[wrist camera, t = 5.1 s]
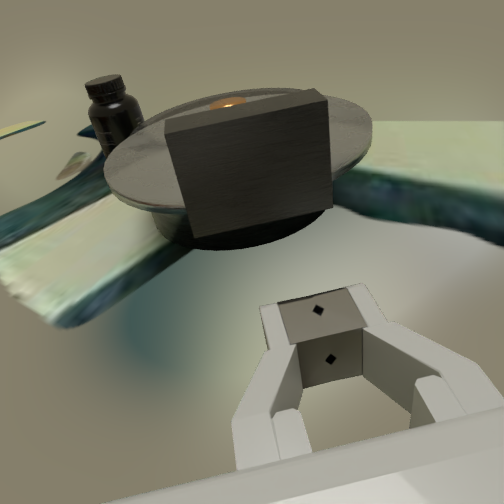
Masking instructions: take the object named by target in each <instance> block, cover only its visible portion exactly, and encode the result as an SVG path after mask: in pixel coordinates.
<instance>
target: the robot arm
mask: <svg viewBox="0 0 504 504" xmlns="http://www.w3.org/2000/svg"><path fill="white" fill-rule="evenodd" d="M259 309H260V314H261V319H262V324H263V329H264V334H265V339H266V344H267V348H268V350H267V351H264V353H263V356H262V358H261V360H260V362H259V364H258V366H257V368H256V370H255V372H254V375H253V377H252V379H251V381H250V383H249V385H248V387H247V389H246V391H245V393H244V395H243V397H242V400H241V402H240V404H239V406H238V408H237V410H236V412H235V414H234V416H233V419H232V421H231V424H232V433H233V441H234V449H235V459H236V467H237V471H233V472H229V473H225V474H221V475H216V476H213V477H208V478H204V479H200V480H196V481H192V482H187V483H184V484H180V485H175V486H171V487H167V488H163V489H159V490H155V491H151V492H146V493H142V494H138V495H134V496H130V497H126V498H122V499H118V500H114V501H109V502H105V503H101V504H504V398H503V396H502V395H501V394H500V392H499V391H498V390H497V389H496V387H495V386H494V385H493V383H492V382H491V381H490V380H489V378H488V377H487V376H486V374H485V373H484V372H483V371H482V369H481V368H480V367H479V366H478V364H477V363H475V362H473V361H471V360H469V359H467V358H465V357H463V356H461V355H459V354H457V353H455V352H453V351H451V350H449V349H447V348H445V347H443V346H441V345H439V344H438V343H436V342H433V341H431V340H430V339H428V338H426V337H424V336H422V335H420V334H418V333H416V332H414V331H412V330H410V329H408V328H406V327H404V326H402V325H400V324H398V323H396V322H394V321H392V322H388V321H387V319H386V318H385V316H384V314H383V313H382V311H381V310H380V308H379V306H378V305H377V303H376V302H375V300H374V299H373V297H372V295H371V294H370V292H369V290H368V289H367V287H366V285H365V284H363V283H359V284H355V285H351V286H347V287H345V288H339V289H335V290H331V291H327V292H323V293H318V294H314V295H311V296H306V297H301V298H296V299H291V300H286V301H282V302H277V303H274V304H268V305H263V306H260V307H259ZM359 375H363V377H364V378H366V379H367V380H368V381H370V382H371V383H372V384H374V385H375V386H376V387H377V388H378V389H380V390H381V391H382V392H384V393H385V394H386V395H388V396H389V397H390V398H391V399H393V400H394V401H395V402H396V403H398V404H399V405H400V406H402V407H403V408H404V409H405V410H407V411H408V412H409V413H410V414H411V419H410V427H409V429H407V430H403V431H399V432H395V433H390V434H386V435H382V436H378V437H374V438H370V439H366V440H362V441H358V442H354V443H350V444H345V445H341V446H337V447H333V448H328V449H324V450H320V451H316V452H312V449H311V446H310V442H309V439H308V436H307V432H306V429H305V426H304V422H303V420H302V416H301V412H300V411H298V407H299V403H300V400H301V397H302V393H303V389H305V388H308V387H312V386H316V385H319V384H323V383H327V382H331V381H335V380H340V379H345V378H349V377H355V376H359Z"/></svg>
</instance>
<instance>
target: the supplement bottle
mask: <svg viewBox="0 0 504 504" xmlns="http://www.w3.org/2000/svg"><path fill="white" fill-rule="evenodd" d="M85 88H86V90H87V93H88V96H89V98H90V99H92V101H93V103H92V105H91V106H90V107H89V110H88V115H89V118H90V120H91V123H92V126H93V128H94V130H95V133H96V135H97V138H98V140H99V142H100V145H101V147H102V150H103V152H104V155H105V157H106V159H107V158H108V156H109V155H110V153H111V152H112V151H113V150H114V149H115V148H116V147H117V146H118V145H119V144H120V143H122V142H123V141H124V140H126V139H127V138H128V137H129V136H130V134H131V133H132V132H133V131H134V130H135V129H136V128H137V127H138V126H139V125H140V124H142V123H143V122H145V121H144V118H143V115H142V112H141V109H140V106H139V104H138V101H137V100H136V99H135V98H134V97H133V96H131V95H128V94H126V93H125V90H126V87H125V85H124V83H123V80H122V77H121V75H108V76H104V77H100V78H96V79H94V80H91V81H89V82H87V83H86V84H85Z"/></svg>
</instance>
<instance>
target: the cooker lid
mask: <svg viewBox="0 0 504 504" xmlns="http://www.w3.org/2000/svg"><path fill="white" fill-rule="evenodd" d="M371 142H372V120H371V117H370V116H369V114H368V113H367V112H366V111H365V110H364V109H363V108H362V107H360V106H358V105H357V104H355V103H352V102H350V101H347V100H344V99H340V98H336V97H331V96H325V95H321V94H320V93H319V92H318V91H317V90H316V89H314V88H313V89H308V90H303V91H298V92H294V93H289V94H271V95H260V96H252V97H245V98H243V97H231V98H225V99H221V100H218V101H215V102H213V103H212V104H209V105H205V106H202V107H198V108H194V109H191V110H188V111H185V112H182V113H179V114H176V115H173V116H170V117H168V118H165V119H163V120H160V121H158V122H156V123H154V124H152V125H149V126H147V127H145V128H144V129H142V130H140V131H138V132H136V133H135V134H133V135H131V136H130V137H128V138H127V139H126V140H124V141H123V142H122V143H120V144H119V145H118V146H117V147H116V148H115V149H114V150H113V151H112V152H111V153H110V155H109V156H108V158H107V160H106V161H105V165H104V176H105V178H106V180H107V183H108V185H109V188H110V190H111V191H112V193H113V194H114V195H115V196H116V197H117V198H118V199H119V200H120V201H122V202H124V203H126V204H127V205H130V206H132V207H135V208H138V209H141V210H145V211H150V212H155V213H163V214H172V215H188V218H189V222H190V225H191V228H192V232H193V235H194V238H198V237H203V236H207V235H212V234H217V233H221V232H226V231H230V230H235V229H239V228H244V227H248V226H253V225H257V224H262V223H266V222H271V221H276V220H280V219H285V218H289V217H294V216H298V215H303V214H307V213H312V212H316V211H321V210H325V209H330V208H333V192H332V181H333V180H335V179H337V178H338V177H340V176H341V175H343V174H345V173H346V172H348V171H349V170H350V169H352V168H353V167H354V166H355V165H356V164H358V163H359V162H360V161H361V159H362V158H363V157H364V156H365V155H366V154H367V152H368V150H369V148H370V146H371Z"/></svg>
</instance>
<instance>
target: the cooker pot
mask: <svg viewBox="0 0 504 504" xmlns="http://www.w3.org/2000/svg"><path fill="white" fill-rule="evenodd" d="M298 91H303V90H300V89H291V88H261V89H250V90H241V91H234V92H229V93H223V94H218V95H213V96H210V97H205V98H201V99H198V100H195V101H191V102H187V103H185V104H182V105H179V106H176V107H173V108H171V109H168V110H166V111H164V112H161V113H159V114H157V115H155V116H153V117H151V118H150V119H148V120H146V121H145V122H143V123H142V124H140V125H139V126H138V127H137V128H136V129H135V130H134V131H133V132H132V133H131V134H130V136H131V135H133V134H135V133H136V132H138V131H140V130H142V129H144V128H145V127H147V126H149V125H152V124H154V123H156V122H158V121H160V120H163V119H165V118H168V117H170V116H173V115H176V114H179V113H182V112H185V111H188V110H191V109H194V108H198V107H202V106H205V105H209V104H212V103H213V102H215V101H218V100H221V99H225V98H231V97H243V98H245V97H252V96H260V95H271V94H289V93H294V92H298ZM130 136H129V137H130ZM332 192H333V185H332ZM325 210H326V209H325ZM325 210H321V211H316V212H312V213H307V214H303V215H298V216H294V217H289V218H285V219H280V220H276V221H271V222H266V223H262V224H257V225H253V226H248V227H244V228H239V229H235V230H230V231H226V232H221V233H217V234H212V235H207V236H203V237H198V238H194V235H193V232H192V228H191V225H190V222H189V218H188V215H172V214H163V213H155V212H152V215H153V218H154V221H155V223H156V226H157V229H158V230H159V232H160V233H161V234H162V235H163V236H164V237H165V238H167V239H169V240H170V241H172V242H174V243H176V244H179V245H181V246H185V247H189V248H193V249H200V250H214V251H219V250H235V249H244V248H249V247H255V246H259V245H263V244H267V243H271V242H274V241H276V240H279V239H282V238H285V237H287V236H289V235H291V234H294V233H296V232H297V231H299V230H301V229H303V228H305V227H306V226H308V225H309V224H311V223H312V222H314V221H315V220H316V219H317V218H318V217H319V216H320V215H322V213H323V212H324V211H325Z"/></svg>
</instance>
